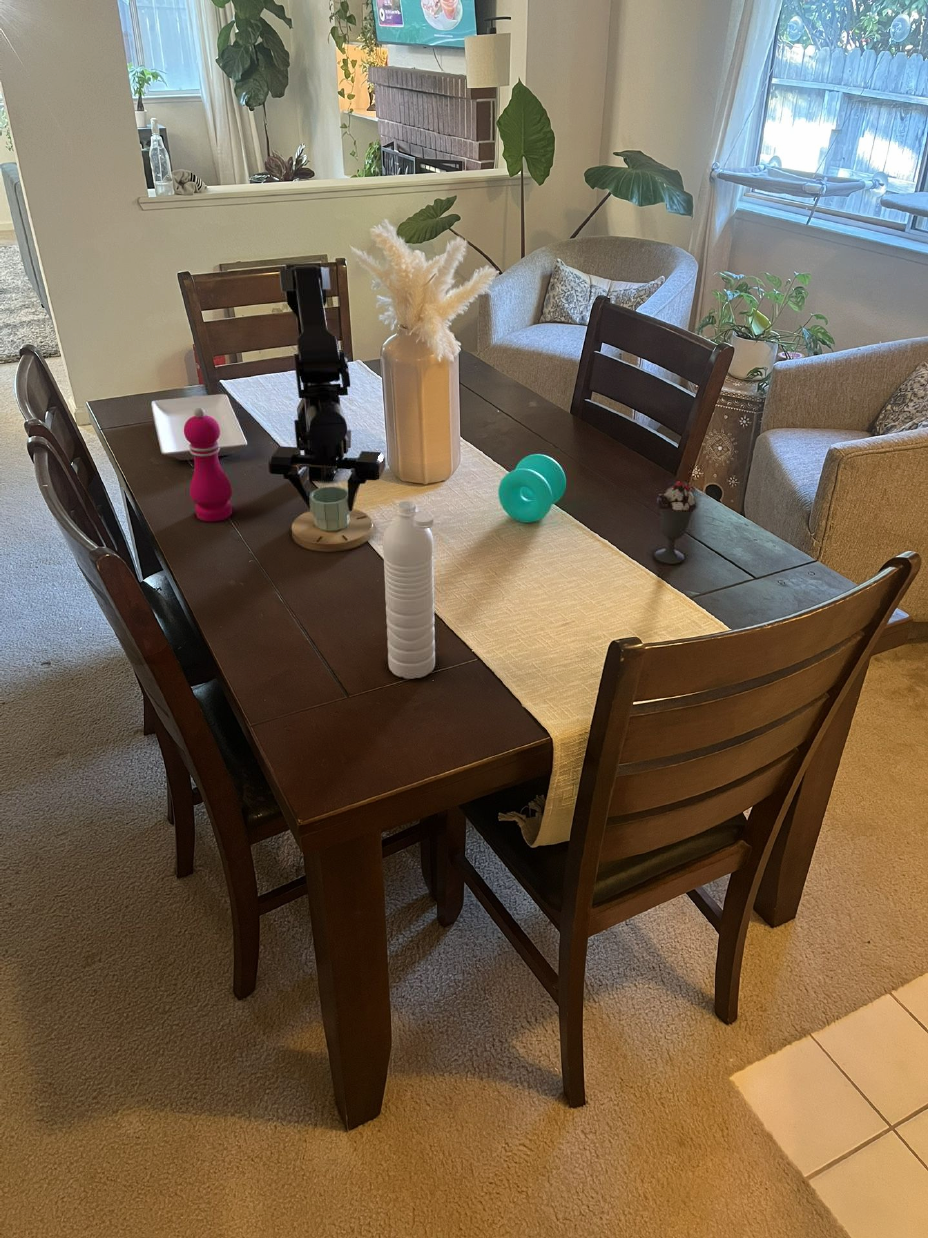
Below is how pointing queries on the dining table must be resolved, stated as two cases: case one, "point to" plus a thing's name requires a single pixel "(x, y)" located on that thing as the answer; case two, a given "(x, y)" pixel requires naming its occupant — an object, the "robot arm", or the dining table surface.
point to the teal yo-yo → (532, 488)
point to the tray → (179, 410)
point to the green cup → (330, 508)
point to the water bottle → (410, 592)
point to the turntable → (332, 533)
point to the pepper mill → (207, 469)
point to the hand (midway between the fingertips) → (331, 508)
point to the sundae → (674, 519)
